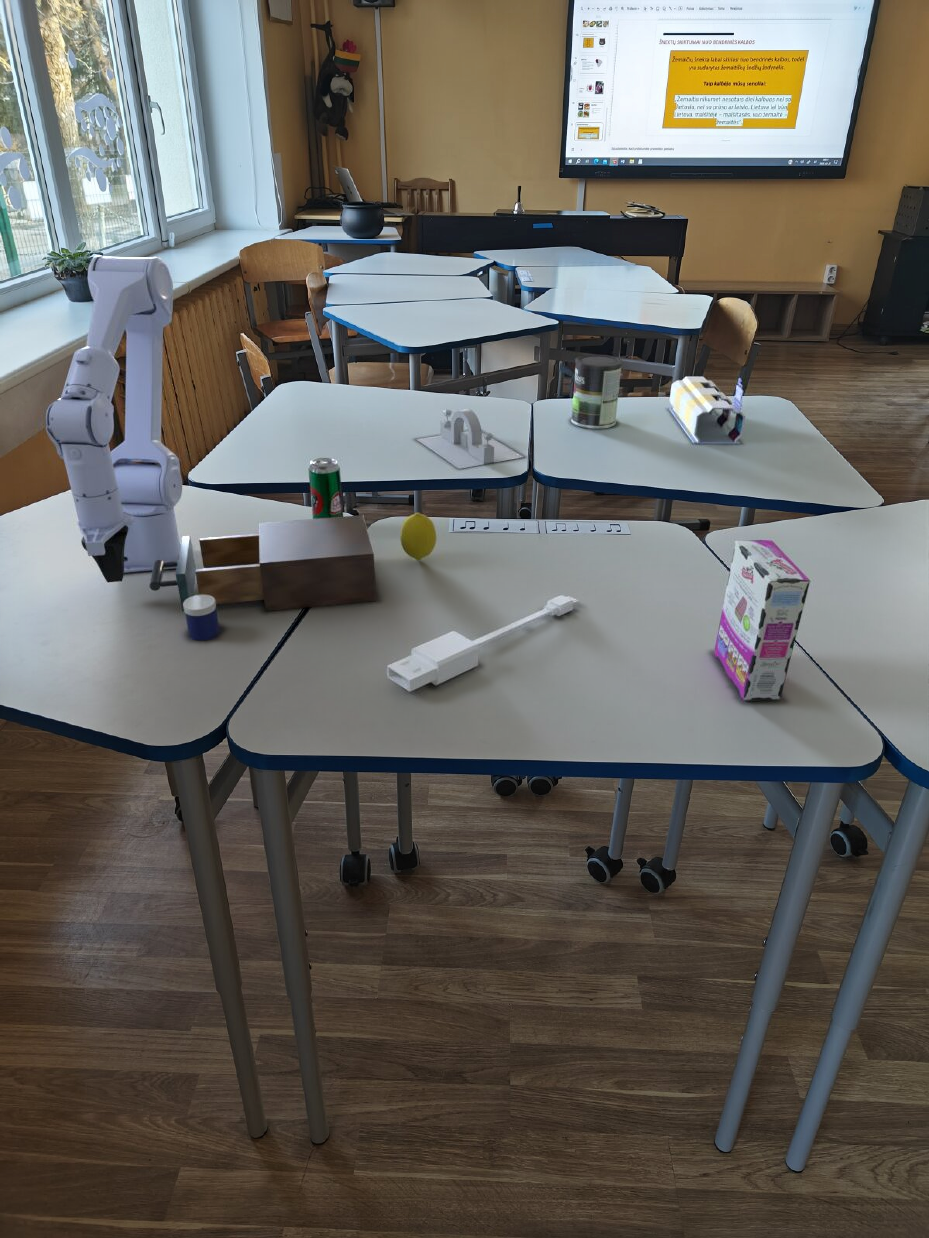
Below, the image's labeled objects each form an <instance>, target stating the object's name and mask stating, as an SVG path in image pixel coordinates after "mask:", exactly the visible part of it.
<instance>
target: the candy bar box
mask: <svg viewBox="0 0 929 1238" xmlns="http://www.w3.org/2000/svg"><path fill="white" fill-rule="evenodd" d="M730 564H731V565H730V569H729V574H728V579H727V584H726V589H725V594H724V598H723V599H724V600H723V605H722V609H721V615H720V620H719V624H718V630H717V636H716V639H715V645H714V651H713V654H714V656H715V658H716V659H717V660H718V662H719V663H720V665H721V667H722V669H723V670H724V671H725V673H726V674H727V677H728V678H729V679H730V681H731V682H732V684H733V686H734V687H735V689H736V691H737V692H738V694H739V695H740V698H741V699H742V700H743V701H745V702H751V701H752V702H753V701H754V702H755V701H779V700H780V701H781V699H782V695H783V691H784V687H785V683H786V680H787V679H786V678H787V675H788V670H789V666H790V662H791V658H792V656H793V655H792V654H793V650H794V647H795V642H796V638H797V635H798V631H799V626H800V623H801V620H802V615H803V610H804V607H805V604H806V599H807V596H808V591H809V588H810V584H811V579H809V578H808V577H807V576H806V575H805V573H804V572H803V571H801V569H800V568H799V567H798V566H797V565H796V564H795V563H794V561H792V560H791V559H790V558H789V557H788V556H787V554H786V553H785V552H784V551H783V550H782V549H781V548H780V547H779V546H778V545H777V544H776V543H775V541H774V540H772V539H754V540H753V539H752V540H735V542H734V549H733V554H732V559H731V563H730Z"/></svg>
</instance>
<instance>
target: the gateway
mask: <svg viewBox="0 0 929 1238" xmlns="http://www.w3.org/2000/svg"><path fill="white" fill-rule="evenodd" d="M442 412H443V415H444V417H446V419H444V420H440V421H439V436H441V437H442V438H444V439H445V440H447V441H448V442H450V443H451V444H453V445H457V444H460V445H462V446H463V447H465V448H467V449H468V454H469V455H470V456H471V457H473V458H474V459H476V460H477V461H479V462H481V463H482V464H483V465H489V464H495V463H496V462H495V446H494V445H492V444H491V443H489V442H490V441H491V440H492V439H493V437H494V435H493V434H492V433H491V432H489V431H488V432H483V431H482V426H481V423H480V420H479V417H478V416H477V414H476V413H475V411H474V410H472V409H469V408H468V409H459V410H456V411H454V413H453V411H452V410H451V409H449V408H447V409H443V410H442ZM452 413H453V414H452ZM451 415H452V416H451ZM449 417H451V419H449ZM464 424H465V425H466V427H467V430H466V431H467V432H468V434H467V433H465V429H464V426H465V425H464ZM483 439H484V440H485V441H486V443H484V444H483Z"/></svg>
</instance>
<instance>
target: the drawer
mask: <svg viewBox="0 0 929 1238" xmlns="http://www.w3.org/2000/svg"><path fill="white" fill-rule="evenodd" d="M198 539H199V540H198V542H199V548H200V553H201V560H202V565H203V566H202V567H203V568H197V567H196V560H195V555H194V549H193V544H192V538H191V535H182V536H181V539H180V544H181V545H180V551H179V557H178V561H176V562H163V561H162V560H156V561H155V563H154V567H153V570H152V572H151V577H150V582H149V589H150V590H152V591H154V592H156V591H159V590H160V589H161V588H165V587H166V588H167V587H175V586H177V589H178V595H179V601H180V606H181V611H182V612H184V607H183V602H184V601H185V600H186V599H187V598H189V597H192V596H194V591H195V582H196V585H197V590H198V595H210V596H212V597H214V599H215V602H216V605H219V604H220V605H221V604H231V603H232V604H233V603H241V602H243V603H244V602H253V601H254V602H255V601H263V600H264V594H263V586H262V578H261V570H260V554H259V533H250V534H238V535H236V534H235V535H224V536H212V537H200V538H198ZM167 567H177V568H175V580H174V579H173V580H163V576H164V575H163V574H164V570H165V569H164V568H167Z"/></svg>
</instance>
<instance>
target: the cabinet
mask: <svg viewBox="0 0 929 1238" xmlns="http://www.w3.org/2000/svg"><path fill="white" fill-rule="evenodd" d="M258 534H259V554H260V570H261V578H262V586H263V594H264V608H265V612H273V611H282V610H283V611H284V610H295V609H303V608H305V609H306V608H314V607H325V606H335V605H337V606H338V605H345V604H347V605H348V604H357V603H369V602H376V601H377V591H376V571H375V569H376V568H375V553H374V550H373V546H372V542H371V538H370V535H369V532H368V528H367V524H366V520H365V517H364V515H363V514H361V515H348V516H347V515H345V516H343V517H332V518H319V519H313V518H308V519H307V518H306V519H295V520H283V521H282V520H281V521H280V520H279V521H268V522H267V521H266V522H258Z"/></svg>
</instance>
